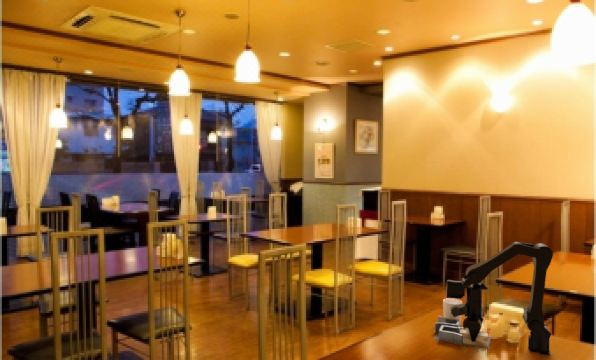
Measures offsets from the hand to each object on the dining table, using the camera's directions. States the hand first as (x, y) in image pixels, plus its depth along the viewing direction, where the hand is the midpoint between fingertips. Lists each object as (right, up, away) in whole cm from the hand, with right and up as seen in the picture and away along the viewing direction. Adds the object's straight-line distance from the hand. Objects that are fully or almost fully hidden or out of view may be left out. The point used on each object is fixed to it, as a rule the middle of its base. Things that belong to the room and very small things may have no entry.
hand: (473, 339), depth 176 cm
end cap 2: (-7, -1, +4) cm, 8 cm away
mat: (-2, -2, +7) cm, 7 cm away
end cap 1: (-6, -1, +13) cm, 14 cm away
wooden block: (0, -1, 0) cm, 1 cm away
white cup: (-1, -1, +22) cm, 22 cm away
